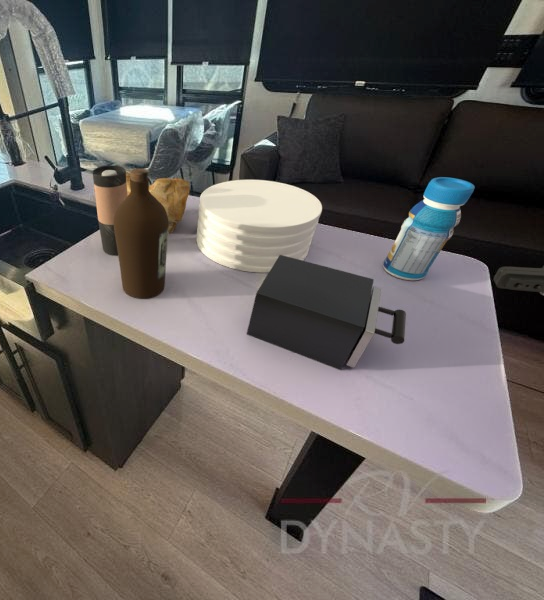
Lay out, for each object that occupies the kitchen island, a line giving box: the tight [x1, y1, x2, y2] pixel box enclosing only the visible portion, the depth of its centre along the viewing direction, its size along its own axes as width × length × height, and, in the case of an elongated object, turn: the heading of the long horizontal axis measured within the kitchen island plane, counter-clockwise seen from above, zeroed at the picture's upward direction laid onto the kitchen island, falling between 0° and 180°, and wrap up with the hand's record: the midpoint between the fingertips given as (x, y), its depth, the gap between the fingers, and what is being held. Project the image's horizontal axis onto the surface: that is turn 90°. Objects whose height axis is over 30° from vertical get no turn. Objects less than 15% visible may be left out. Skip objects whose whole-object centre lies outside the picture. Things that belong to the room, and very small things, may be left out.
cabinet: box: [246, 255, 375, 371], centre depth 58 cm, size 16×14×10 cm
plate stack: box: [196, 179, 323, 273], centre depth 82 cm, size 28×28×12 cm
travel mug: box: [92, 164, 128, 256], centre depth 79 cm, size 8×8×20 cm
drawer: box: [345, 286, 407, 369], centre depth 56 cm, size 19×13×8 cm, turn 57°
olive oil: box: [114, 168, 169, 300], centre depth 65 cm, size 11×11×25 cm
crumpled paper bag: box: [126, 171, 191, 234], centre depth 93 cm, size 23×17×15 cm
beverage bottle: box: [382, 176, 476, 281], centre depth 68 cm, size 8×8×20 cm
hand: (497, 277), depth 40 cm, fingers closed
